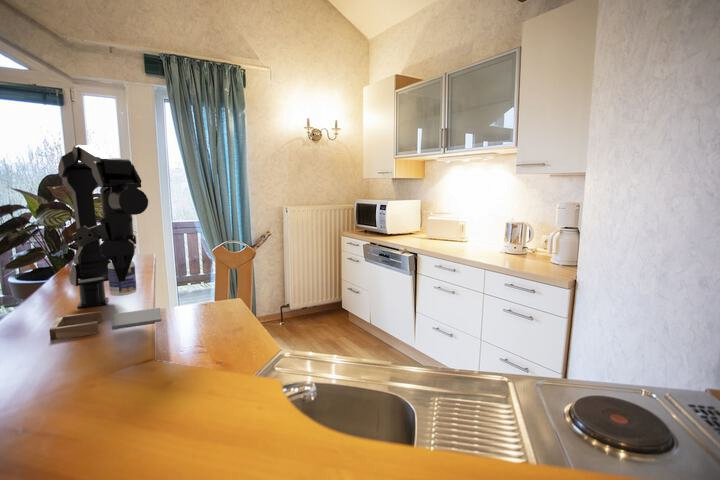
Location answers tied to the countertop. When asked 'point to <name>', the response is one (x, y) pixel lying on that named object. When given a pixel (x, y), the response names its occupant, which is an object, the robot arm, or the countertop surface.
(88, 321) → the wooden u-shaped frame
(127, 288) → the pill bottle
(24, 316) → the countertop surface
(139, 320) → the slate coaster
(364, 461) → the countertop surface
